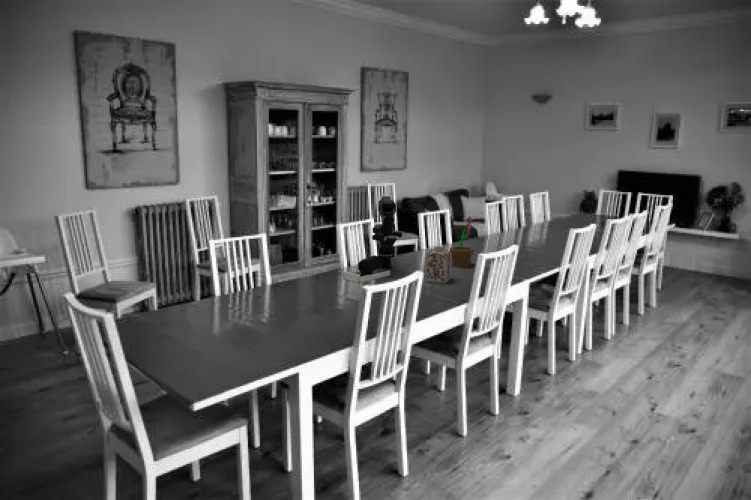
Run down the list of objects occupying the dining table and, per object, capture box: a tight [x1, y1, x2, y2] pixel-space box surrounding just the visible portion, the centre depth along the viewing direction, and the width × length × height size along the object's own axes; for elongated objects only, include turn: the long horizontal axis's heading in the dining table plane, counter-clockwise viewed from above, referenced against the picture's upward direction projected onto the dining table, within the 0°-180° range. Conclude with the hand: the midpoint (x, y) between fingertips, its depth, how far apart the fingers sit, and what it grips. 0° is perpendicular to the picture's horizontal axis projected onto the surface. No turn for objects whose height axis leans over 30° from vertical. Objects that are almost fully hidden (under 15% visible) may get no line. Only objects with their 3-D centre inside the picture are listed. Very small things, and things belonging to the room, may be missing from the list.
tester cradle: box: [342, 269, 391, 284], centre depth 312 cm, size 24×12×5 cm, turn 136°
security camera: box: [357, 254, 382, 277], centre depth 313 cm, size 7×18×10 cm, turn 152°
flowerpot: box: [449, 215, 475, 269], centre depth 340 cm, size 14×14×30 cm
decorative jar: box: [424, 245, 452, 284], centre depth 307 cm, size 12×12×18 cm
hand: (387, 251), depth 321 cm, fingers open, 4 cm apart
